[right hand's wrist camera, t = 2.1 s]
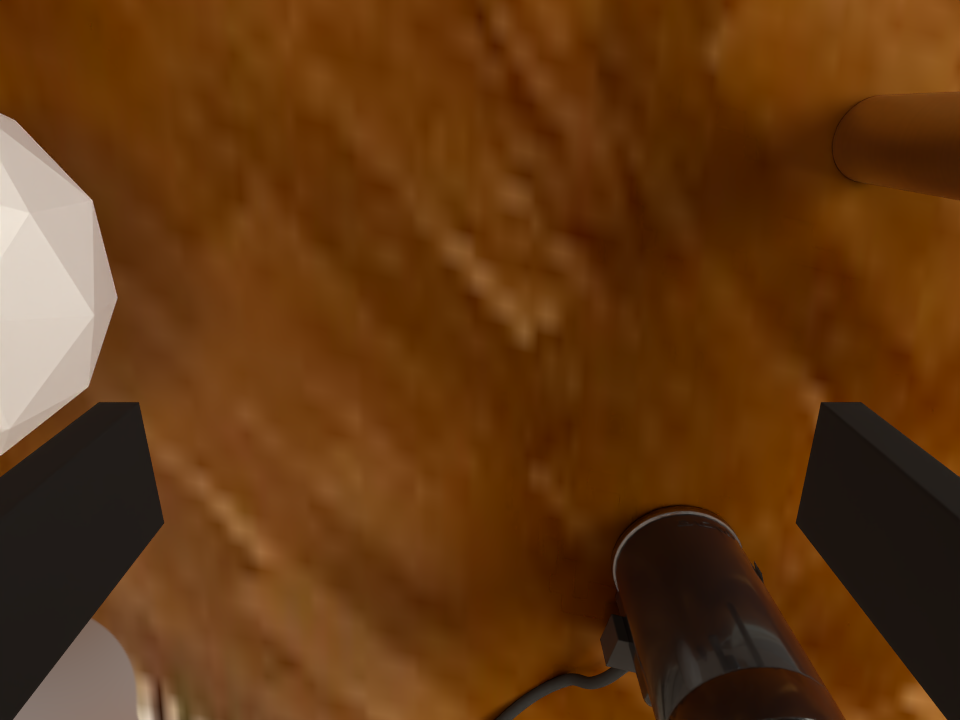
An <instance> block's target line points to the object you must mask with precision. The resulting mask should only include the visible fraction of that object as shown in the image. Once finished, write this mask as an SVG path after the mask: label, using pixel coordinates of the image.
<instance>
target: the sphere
mask: <svg viewBox="0 0 960 720" xmlns="http://www.w3.org/2000/svg"><path fill="white" fill-rule="evenodd" d="M117 298H118V297H117V294H116V290H115V286H114V282H113V278H112V274H111V270H110V267H109V263H108V259H107V255H106V251H105V247H104V243H103V239H102V236H101V232H100V228H99V224H98V220H97V216H96V212H95V209H94V205H93V201H92V200H91V198H90V197H89V196H88V195H87V194H86V193H85V192H84V191H83V190H82V189H81V188H80V187H79V186H78V185H77V184H76V183H75V182H74V181H73V180H72V179H71V178H70V177H69V176H68V175H67V174H66V173H65V172H64V170H63V169H62V168H61V167H60V166H59V165H58V164H57V163H56V162H55V161H54V160H53V159H52V158H51V157H50V156H49V155H48V154H47V153H46V152H45V151H44V150H43V149H42V148H41V147H40V146H39V145H38V144H37V142H36V141H35V140H34V139H33V138H32V137H31V136H30V135H29V134H28V133H27V132H26V131H25V130H24V129H23V128H22V127H21V126H20V125H19V124H18V123H17V122H16V121H15V120H13V119H11V118H9V117H7V116H5V115H3V114H1V113H0V455H2V454H3V453H5V452H6V451H7V450H9V449H10V448H11V447H12V446H14V445H15V444H16V443H17V442H19V441H20V440H21V439H23V438H24V437H25V436H26V435H28V434H29V433H30V432H31V431H33V430H34V429H35V428H37V427H38V426H39V425H40V424H42V423H43V422H44V421H46V420H47V419H48V418H49V417H51V416H52V415H53V414H54V413H56V412H57V411H58V410H60V409H61V408H62V407H63V406H65V405H66V404H67V403H68V402H70V401H71V400H72V399H74V398H75V397H76V396H77V395H79V394H80V393H81V392H82V391H84V390H85V389H86V388H88V386H89V383H90V380H91V377H92V374H93V371H94V368H95V365H96V362H97V359H98V356H99V353H100V350H101V347H102V344H103V341H104V338H105V335H106V332H107V328H108V325H109V322H110V319H111V316H112V313H113V310H114V307H115V304H116V301H117Z"/></svg>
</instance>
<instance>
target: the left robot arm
mask: <svg viewBox="0 0 960 720" xmlns="http://www.w3.org/2000/svg"><path fill="white" fill-rule="evenodd" d="M754 565H755V569H754V567H753V565H752V564H751V562H750V560H749V559H748V557H747V556H746V554H745V552H744V551H743V549H742V546H741V544H740V541H739V539H738V538H737V536H736V534H735V533H734V531H733V529H732V528H731V527H730V526H729V524H728V523H727V522H726V521H724V520H723V519H722V518H721V517H719V516H718V515H716V514H714V513H712V512H710V511H707V510H705V509H701V508H697V507H690V506H674V507H667V508H663V509H659V510H656V511H654V512H651V513H649V514H647V515H645V516H643V517H641V518H640V519H638V520H637V521H635V522H634V523H633V524H631V525H630V526H629V527H628V528H627V529H626V530H625V531H624V533H623V534H622V535H621V536H620V538H619V540H618V541H617V543H616V545H615V548H614V550H613V554H612V560H611V569H612V574H613V578H614V582H615V585H616V587H617V590H618V591H617V593H616V595H615V599H616V603H617V606H618V610H619V613H620V616H618V615H614V614H611V616H610V619H609V621H608V623H607V625H606V627H605V630H604V632H603V634H602V636H601V638H600V641H601V645H602V649H603V654H604V658H605V662H606V666H608V667H611V668H610V669H608V670H607V671H605V672H603V673H601V674H599V675H596V676H592V677H587V676H583V675H580V674H574V673H569V674H564V675H561V676H558V677H556V678H553V679H551V680H549V681H547V682H545V683H543V684H541V685H539V686H538V687H536V688H534V689H533V690H531V691H530V692H528V693H527V694H525V695H524V696H522V697H521V698H520V699H518V700H517V701H516V702H514V703H513V704H512V705H511V706H510V707H508V708H507V709H506V710H505V711H504V712H503V713H502V714H501V715H500V716H499V717H497V718H496V719H495V720H512V719H514V718H515V717H516V716H517V715H518V714H519V713H521V712H522V711H523V710H524V709H526V708H527V707H528V706H530V705H531V704H533V703H534V702H536V701H537V700H539V699H540V698H542V697H544V696H546V695H547V694H550V693H552V692H554V691H556V690H559V689H561V688H564V687H567V686H570V685H575V686H578V687H581V688H585V689H597V688H601V687H604V686H606V685H608V684H610V683H612V682H614V681H615V680H617V679H618V678H620V677H621V676H623V675H624V674H625V673H627V672H628V671H631V672H636V674H637V678H638V681H639V685H640V689H641V692H642V696H643V699H644V701H645V702H646V703H647V704H648V705H649V706H651V707H652V708H653V711H654V715H655V718H656V720H845V718H844V716H843V715H842V713H841V711H840V710H839V708H838V706H837V705H836V703H835V701H834V700H833V698H832V697H831V695H830V693H829V692H828V690H827V688H826V687H825V685H824V683H823V682H822V680H821V678H820V677H819V675H818V673H817V672H816V670H815V668H814V667H813V665H812V663H811V662H810V660H809V658H808V657H807V655H806V653H805V652H804V650H803V648H802V647H801V645H800V644H799V642H798V640H797V639H796V637H795V635H794V634H793V632H792V630H791V629H790V627H789V625H788V624H787V622H786V620H785V619H784V617H783V615H782V614H781V612H780V610H779V609H778V607H777V605H776V604H775V602H774V600H773V599H772V597H771V595H770V594H769V592H768V590H767V589H766V587H765V585H764V583H763V577H762V573H761V572H760V570H759V568H758V567H757V565H756V563H755V562H754Z"/></svg>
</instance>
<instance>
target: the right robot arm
mask: <svg viewBox="0 0 960 720" xmlns="http://www.w3.org/2000/svg"><path fill="white" fill-rule="evenodd" d="M163 524H164V520H163V515H162V510H161V506H160V501H159V496H158V491H157V486H156V482H155V477H154V472H153V467H152V463H151V458H150V453H149V448H148V444H147V439H146V434H145V429H144V425H143V420H142V415H141V410H140V406H139V402H99V403H97V404H96V405H95V406H94V407H92V408H91V409H90V410H88V411H87V412H86V413H84V414H83V415H82V416H80V417H79V418H78V419H76V420H75V421H74V422H72V423H71V424H70V425H69V426H67V427H66V428H65V429H63V430H62V431H61V432H59V433H58V434H57V435H55V436H54V437H53V438H51V439H50V440H49V441H47V442H46V443H45V444H44V445H42V446H41V447H40V448H38V449H37V450H36V451H34V452H33V453H32V454H30V455H29V456H28V457H26V458H25V459H24V460H22V461H21V462H20V463H19V464H17V465H16V466H15V467H13V468H12V469H11V470H9V471H8V472H7V473H5V474H4V475H3V476H1V477H0V720H13V719H14V717H15V716H16V715H17V713H18V712H19V711H20V710H21V708H22V707H23V706H24V704H25V703H26V702H27V701H28V699H29V698H30V697H31V695H32V694H33V693H34V691H35V690H36V689H37V688H38V686H39V685H40V684H41V682H42V681H43V680H44V678H45V677H46V676H47V675H48V673H49V672H50V671H51V669H52V668H53V667H54V665H55V664H56V663H57V662H58V660H59V659H60V658H61V656H62V655H63V654H64V652H65V651H66V650H67V649H68V647H69V646H70V645H71V643H72V642H73V641H74V639H75V638H76V637H77V636H78V634H79V633H80V632H81V630H82V629H83V628H84V626H85V625H86V624H87V623H88V621H89V620H90V619H91V617H92V616H93V615H94V614H95V612H96V611H97V610H98V608H99V607H100V606H101V604H102V603H103V602H104V601H105V599H106V598H107V597H108V595H109V594H110V593H111V591H112V590H113V589H114V588H115V586H116V585H117V584H118V582H119V581H120V580H121V578H122V577H123V576H124V575H125V573H126V572H127V571H128V569H129V568H130V567H131V565H132V564H133V563H134V562H135V560H136V559H137V558H138V556H139V555H140V554H141V552H142V551H143V550H144V549H145V547H146V546H147V545H148V543H149V542H150V541H151V539H152V538H153V537H154V536H155V534H156V533H157V532H158V530H159V529H160V528H161V526H162V525H163ZM796 524H797V525H798V526H799V528H800V529H801V530H802V532H803V533H804V534H805V536H806V537H807V538H808V539H809V541H810V542H811V543H812V545H813V546H814V547H815V549H816V550H817V551H818V552H819V554H820V555H821V556H822V558H823V559H824V560H825V562H826V563H827V564H828V565H829V567H830V568H831V569H832V571H833V572H834V573H835V575H836V576H837V577H838V578H839V580H840V581H841V582H842V584H843V585H844V586H845V588H846V589H847V590H848V591H849V593H850V594H851V595H852V597H853V598H854V599H855V601H856V602H857V603H858V604H859V606H860V607H861V608H862V610H863V611H864V612H865V614H866V615H867V616H868V617H869V619H870V620H871V621H872V623H873V624H874V625H875V627H876V628H877V629H878V630H879V632H880V633H881V634H882V636H883V637H884V638H885V639H886V641H887V642H888V643H889V645H890V646H891V647H892V649H893V650H894V651H895V652H896V654H897V655H898V656H899V658H900V659H901V660H902V662H903V663H904V664H905V665H906V667H907V668H908V669H909V671H910V672H911V673H912V675H913V676H914V677H915V678H916V680H917V681H918V682H919V684H920V685H921V686H922V688H923V689H924V690H925V691H926V693H927V694H928V695H929V697H930V698H931V699H932V701H933V702H934V703H935V704H936V706H937V707H938V708H939V710H940V711H941V712H942V714H943V715H944V716H945V717H946V719H947V720H960V477H959V476H957V475H956V474H955V473H953V472H952V471H951V470H949V469H948V468H947V467H945V466H944V465H943V464H941V463H940V462H939V461H938V460H936V459H935V458H934V457H932V456H931V455H930V454H928V453H927V452H926V451H924V450H923V449H922V448H920V447H919V446H918V445H916V444H915V443H914V442H913V441H911V440H910V439H909V438H907V437H906V436H905V435H903V434H902V433H901V432H899V431H898V430H897V429H895V428H894V427H893V426H891V425H890V424H889V423H888V422H886V421H885V420H884V419H882V418H881V417H880V416H878V415H877V414H876V413H874V412H873V411H872V410H870V409H869V408H868V407H866V406H865V405H864V404H863V403H861V402H821V406H820V410H819V415H818V420H817V425H816V429H815V434H814V439H813V444H812V448H811V453H810V458H809V463H808V467H807V472H806V477H805V482H804V486H803V491H802V496H801V501H800V505H799V510H798V515H797V520H796Z"/></svg>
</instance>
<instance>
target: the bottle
mask: <svg viewBox="0 0 960 720" xmlns="http://www.w3.org/2000/svg"><path fill="white" fill-rule="evenodd" d="M832 151H833V157H834V161H835V163H836V165H837V167H838V169H839V170H840V171H841V172H842V174H844V175H845V176H846V177H848V178H849V179H851V180H854V181H857V182H862V183H867V184H873V185H878V186H884V187H889V188H895V189H900V190H906V191H911V192H917V193H922V194H927V195H933V196H938V197H944V198H949V199H955V200H960V92H942V93H919V94H896V95H878V96H873V97H870V98H867V99H865V100H863V101H861V102H860V103H858V104H856V105H855V106H854V107H853V108H851V109H850V110H849V111H848V112H847V113H846V115H845V116H844V117H843V118H842V120H841V121H840V123H839V125H838V127H837V129H836V132H835V135H834V138H833V147H832Z"/></svg>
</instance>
